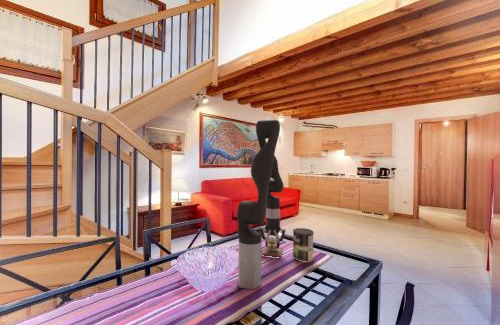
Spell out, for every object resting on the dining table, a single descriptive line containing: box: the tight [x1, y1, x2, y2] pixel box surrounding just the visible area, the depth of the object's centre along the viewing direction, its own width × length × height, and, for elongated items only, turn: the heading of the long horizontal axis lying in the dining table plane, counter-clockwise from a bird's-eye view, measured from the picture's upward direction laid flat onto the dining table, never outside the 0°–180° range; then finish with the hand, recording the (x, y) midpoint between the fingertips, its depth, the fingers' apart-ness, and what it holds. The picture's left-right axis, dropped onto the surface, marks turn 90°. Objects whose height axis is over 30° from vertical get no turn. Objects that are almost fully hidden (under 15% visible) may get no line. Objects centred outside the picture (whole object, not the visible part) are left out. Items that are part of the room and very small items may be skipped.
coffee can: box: [292, 227, 314, 263], centre depth 120 cm, size 10×10×14 cm
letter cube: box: [267, 237, 277, 251], centre depth 126 cm, size 5×5×5 cm
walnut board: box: [261, 246, 284, 259], centre depth 126 cm, size 12×10×1 cm
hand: (272, 247), depth 126 cm, fingers closed on letter cube, 4 cm apart
